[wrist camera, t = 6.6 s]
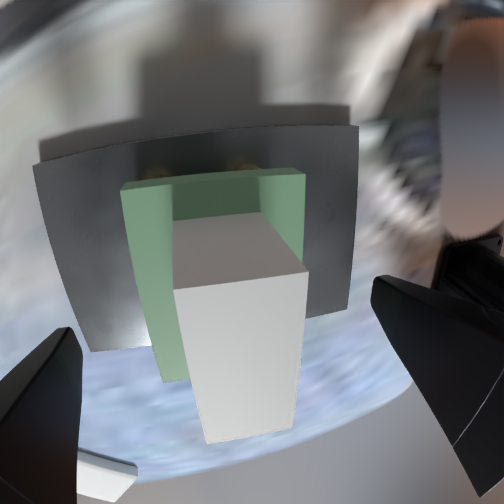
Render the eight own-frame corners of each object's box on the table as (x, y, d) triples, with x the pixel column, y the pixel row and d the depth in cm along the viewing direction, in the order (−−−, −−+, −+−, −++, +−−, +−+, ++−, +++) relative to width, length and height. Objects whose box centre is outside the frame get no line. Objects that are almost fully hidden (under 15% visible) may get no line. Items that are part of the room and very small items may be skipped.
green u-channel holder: (293, 167, 10) (376, 213, 6) (286, 345, 13) (330, 433, 9) (125, 182, 9) (86, 244, 5) (162, 364, 12) (167, 463, 8)
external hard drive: (113, 490, 22) (-5, 449, 17) (137, 461, 20) (-7, 409, 15) (113, 503, 21) (-8, 462, 16) (138, 477, 19) (-13, 424, 14)
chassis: (349, 124, 13) (394, 132, 10) (340, 300, 17) (370, 338, 14) (40, 162, 10) (2, 180, 7) (93, 341, 14) (83, 389, 11)
